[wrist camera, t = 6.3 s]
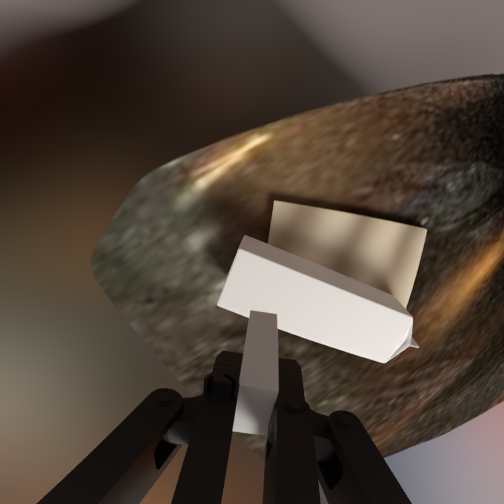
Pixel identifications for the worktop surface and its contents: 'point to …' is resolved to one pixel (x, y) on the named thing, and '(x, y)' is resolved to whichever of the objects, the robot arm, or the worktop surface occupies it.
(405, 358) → the worktop surface
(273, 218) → the board
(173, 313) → the worktop surface
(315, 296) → the white carton-shaped block
